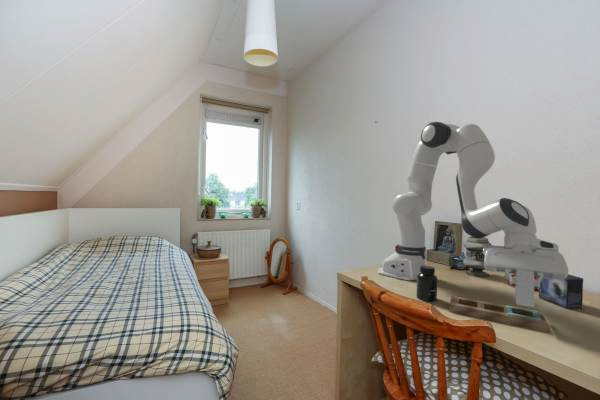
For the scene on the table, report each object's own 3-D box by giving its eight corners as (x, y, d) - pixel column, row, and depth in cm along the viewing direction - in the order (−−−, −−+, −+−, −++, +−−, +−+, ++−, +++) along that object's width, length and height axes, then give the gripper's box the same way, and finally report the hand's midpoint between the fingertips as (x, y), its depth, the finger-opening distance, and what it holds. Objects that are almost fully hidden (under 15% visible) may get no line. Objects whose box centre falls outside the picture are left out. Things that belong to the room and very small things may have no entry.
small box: (536, 297, 105) (537, 270, 105) (552, 297, 105) (553, 269, 105) (566, 309, 94) (567, 278, 94) (583, 308, 95) (584, 278, 95)
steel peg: (516, 304, 82) (516, 270, 82) (515, 300, 86) (515, 267, 86) (533, 307, 80) (534, 272, 80) (531, 302, 84) (532, 269, 84)
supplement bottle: (435, 305, 97) (436, 270, 96) (414, 300, 100) (415, 267, 100) (438, 298, 103) (438, 266, 102) (418, 295, 106) (418, 263, 106)
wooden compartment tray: (449, 313, 90) (449, 303, 90) (451, 304, 98) (451, 294, 97) (547, 334, 77) (547, 322, 77) (541, 321, 84) (542, 311, 84)
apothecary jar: (458, 270, 142) (458, 235, 141) (482, 271, 141) (483, 235, 141) (471, 277, 130) (472, 239, 129) (498, 278, 129) (499, 239, 128)
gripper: (482, 239, 94) (482, 274, 86) (565, 245, 83) (573, 286, 75) (482, 250, 98) (482, 285, 90) (561, 257, 87) (568, 298, 79)
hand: (524, 286), depth 83 cm, fingers closed on steel peg, 4 cm apart
